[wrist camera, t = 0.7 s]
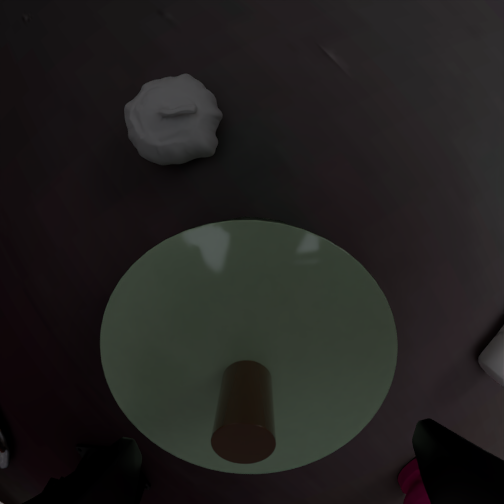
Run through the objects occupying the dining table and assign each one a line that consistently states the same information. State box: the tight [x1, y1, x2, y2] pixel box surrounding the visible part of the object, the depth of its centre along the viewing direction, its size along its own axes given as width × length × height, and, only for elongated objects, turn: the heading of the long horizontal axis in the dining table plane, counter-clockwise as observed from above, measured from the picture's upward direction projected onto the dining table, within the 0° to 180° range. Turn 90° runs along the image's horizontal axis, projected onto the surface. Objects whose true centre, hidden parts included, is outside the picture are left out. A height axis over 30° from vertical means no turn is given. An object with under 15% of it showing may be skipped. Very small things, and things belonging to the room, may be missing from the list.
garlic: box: [124, 74, 223, 165], centre depth 16 cm, size 6×5×5 cm
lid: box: [100, 219, 398, 474], centre depth 13 cm, size 15×15×6 cm
